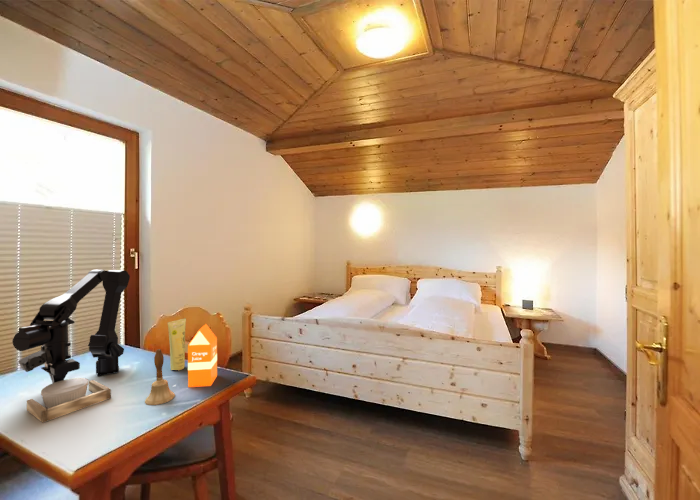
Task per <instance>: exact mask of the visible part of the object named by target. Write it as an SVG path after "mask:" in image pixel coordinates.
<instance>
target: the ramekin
mask: <svg viewBox="0 0 700 500" xmlns="http://www.w3.org/2000/svg"><path fill="white" fill-rule="evenodd" d="M88 386H89V379H88V378H86V377H85V378H84V377H73V378H68V379H67V378H66V379H64V380H62V381H58V382H55V383H52V382H51V383H50V384H48V385H46V386H45V387H43V388H42V389H41V392H40V395H41V396H42V401H43V404H44V407H45V408H46V409H48V408H51V407H54V406H57V405H60V404H63V403H66V402H69V401H72V400H75V399H78V398H81V397H84V396H87V390H88Z"/></svg>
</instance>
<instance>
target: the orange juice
mask: <svg viewBox="0 0 700 500" xmlns="http://www.w3.org/2000/svg"><path fill="white" fill-rule="evenodd" d="M217 377H218V337H217V335H216V334H214V332H213V331H212V329H211V328H210V327H209V325H208V324H207V323H205V324H204V325H202V327H200V328H199V329H198V331H197V332H196V334H195V335H194V336H193V338H192V339H191V340H190V342H189V343H188V345H187V380H188V381H187V387H188V388H196V387H197V388H198V387H211V386H212V385H213V383H214V381H215V380H216V378H217Z"/></svg>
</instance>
